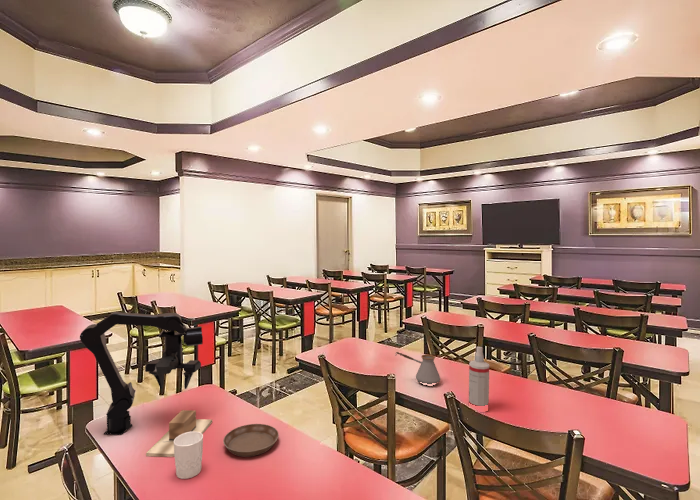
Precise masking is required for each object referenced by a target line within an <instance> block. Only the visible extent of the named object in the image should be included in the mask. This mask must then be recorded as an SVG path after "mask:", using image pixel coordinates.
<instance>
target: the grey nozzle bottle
mask: <svg viewBox="0 0 700 500" xmlns="http://www.w3.org/2000/svg"><path fill="white" fill-rule="evenodd" d="M483 349H484V348H483V347H482V346H476V353H475V356H474V360H470V361H469V363H468V365H469V367H468V368H469V369H468V371H469V372H468V374H469V375H468V404H469V403H470V404H472V405H475V406H485V405H488V403H490V395H489V394H490V364H489V363H488V362H487V361H484V360H485V359H484V357H485V356H484V353H483V351H484V350H483Z"/></svg>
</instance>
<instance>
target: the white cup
mask: <svg viewBox="0 0 700 500" xmlns="http://www.w3.org/2000/svg"><path fill="white" fill-rule="evenodd" d="M203 446H204V433H203V434H202V433H200V432H187V433H183V434H181V435H179V436H177V437H176V438H175V439H174V455H175V457H174V465H175V474H176V477H177V478H179V479H182V480H184V479H185V480H188V479H191V478H192V479H193V478H194V477H196V476H198V474H200V473H201V471H202V464H203V463H202V461H203V448H204V447H203Z"/></svg>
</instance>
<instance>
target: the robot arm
mask: <svg viewBox="0 0 700 500" xmlns="http://www.w3.org/2000/svg"><path fill="white" fill-rule="evenodd" d="M116 325H123V326H137V327H138V326H140V327H141V326H142V327H154V328H157V329H161V330H162V331H161V332H160V333H159V334H158V338H164V351H162V355H161V356H162V357H161V358H160V359H152V360H150V361H149V362H148V363H146V364H145V366H144V372H145V373H148V374H149V375H152V376H153V377H154V378H155V379H156V380H155V381H156V382H157V384H158V387H159V389H161V390H162V389H163V388H164V383H165V382H164V381H165V379H164V378H165V375H169V374H171V373H172V371H173V370H177V369H181V370H183V371H184V372H183V373H182V374H183V377H184V381H183V384H184V386H183V387H184V390H187V389H188V387H189V384H190V382H191V379H192V377H193V375H194V373H196V372H197V371H198V370H199V369H201V368H202V363H201V361H200V360H197V359H194V360H192V359H190V360H189V361H187V362H184V358H183V357H182V355H183V354H182V352H183V351H184V348H183V347H182V346H183V345H184V344H185V345H186V346H187V347H189V346H199V345H201V346H202V345H203V343H204V342H203V339H204V337H203V327H202V326H195V327H187V326H186V325H185V323H184V322H182V317H181V316H180V314H179V313H177V312H166V313H165V312H164V313H159V314H148V313H136V312H135V313H134V312H120V311H113V312H112V313H110V314H109V315H108V316H107V317H105V318H103V319H101V320H100V321H99V322H97V323H92V324H89V325H87V326H86V327H85V328H84V329H83V330H82V331H81V333H80V335H79V340H80V342H81V343H82V344H83V346H84V347H85V348H86V349H87V350H89V352H91V354H92V355H93V356H94V358H95V360H96V361H97V364H98V367H99V368H100V371H101V372H102V374H103V377H104V378H105V380H106V382H107V385H108V386H109V389H110V393H111V400H112V402H111V403H110V404H109V407H108V410H107V412H106V430H105V431H104V432H103V435H118V436H120V435H123V434H124V433H125V432H127V430H129V429H130V428H131V427H133V423H131V421H132V419H131V414H130V409H131V407H132V406H133V403H134V399H135V395H136V392H137V391H136V389H134V388H133V383H132V382H131V381H130V382H128V383H126V382H125V381H124V380H123V378H122V375H121V373H120V371H119V369H118V367H117V365H116V363H115V361H114V359H113V357H112V355H111V353H110V351H109V348H108V346H107V339H106V334H105V333H106V332H108V331H109V330H111V328H113V327H114V326H116ZM182 336H183V339H182ZM182 340H183V342H182ZM182 343H183V345H182Z"/></svg>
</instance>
